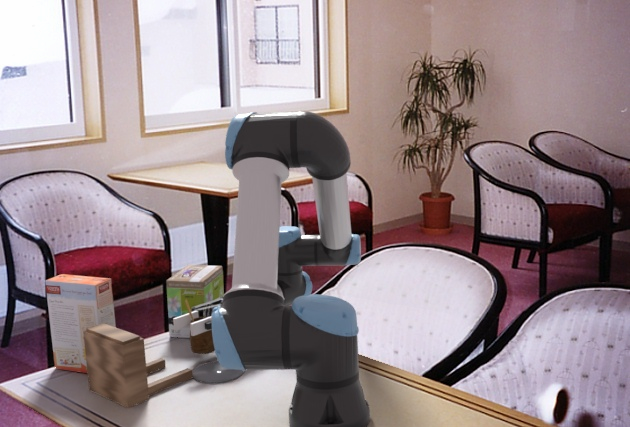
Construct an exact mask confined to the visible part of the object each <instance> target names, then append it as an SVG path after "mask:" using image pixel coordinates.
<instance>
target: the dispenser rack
mask: <svg viewBox="0 0 630 427" xmlns="http://www.w3.org/2000/svg"><path fill="white" fill-rule="evenodd" d="M83 334H84V344H85V353H86V363H87V372H88V373H87V380H88V389H89V392H90V391H91V392H92V393H95V394H97V395H99V396H102V397H103V398H106V399H108V400H109V401H112V402H114V403H117V404H118V405H121V406H123V407H126V408H128V409H130V408H132V407H135V406H138V405H139V404H142V403H144V402H147V401H149V400H150V396H152V395H154V394H157V393H159V392H161V391H163V390H166V389H168V388H171V387H173V386H176V385H179V384H181V383H183V382H186V381H188V380H190V379H194V378H193V374H192V372H193V369H192V368H189V367H187V368H185V369H182V370H180V371H178V372H177V371H176V372H174V373H171V374H169V375H167V376H164V377H162V378H159V379H157V380H154V381H152V382H150V383H149V382H148V375H149V374H152V373H155V372H157V371H159V370H162V369H165V368H166V360H165V358H158V359H155V360H152V361H150V362H147V360H146V350H145V348H146V347H145V338H144V337H141V335H138V334H135V333H132V332H130V331H127V330H124V329H122V328H119V327H118V328H117V327H113V326H110V325H107V324H104V323H102V324H98V325H95V326H92V327H89V328H86V331H83Z"/></svg>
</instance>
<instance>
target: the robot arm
mask: <svg viewBox="0 0 630 427" xmlns="http://www.w3.org/2000/svg"><path fill="white" fill-rule="evenodd" d="M225 136H226V137H225V142H224V145H225V150H224V158H225V164H226V165H227V168H228V169H230V170H231V172H232V175H233V177H234V178H235V179H236V180H237V181H238V192H237V193H238V194H237V208H236V219H235V220H236V223H235V239H234V249H233V250H234V252H233V254H234V255H233V266H232V278H231V279H232V280H231V281H232V282H231V288H230V289H229V290H227V291H226V292H224V296H223V297H219V298H217V299H216V300H213V301H210V302H207V303H208V305H207V303H204V304H200V305H197V306H194V307H192V308H191V309H192V312H191V314H192V316H193V319H195V318H199V317H204V315H203V311H204V313H205V315H206V317H207V318H205V319H202V320H199V321H196V322H193V323H191V321H192V318H191V316H190V314H189V313H187V314H184V315H182V316H179V317H176V318H173V322H174V330H176V331H177V330H179V329H182V328H185V327H188V326H190V330H191V336H195V335H198V334H200V333H203V332H206V331H209V330H211V329H212V336H213V343H214V349H215V351H214V353H215V356H216V359H217V361H218V362H219V363H220V365H221V366H222V367H224V368H226V369H235V370H243V371H244V372H246V371H249V370H250V371H252V370H253V371H257V370H259V371H260V370H261V371H262V370H265V371H267V370H268V371H271V370H272V371H273V370H274V371H275V370H277V371H278V370H295V375H296V376H295V379H296V380H295V381H296V383H295V386H294V391H293V395H292V398H291V402H290V405H289V408H288V423H289V424H288V425H290V427H367V426H368V424H369V423H370V419H371V415H370V414H371V413H370V410H371V409H370V404H369V402H368V401H367V399H366V397H365V393H364V390H363V387H362V384H361V381H360V366H359V345H358V342H359V341H358V340H359V339H358V334H359V330H360V329H359V326H358V321H357V320H358V317H357V312H356V309H355V307H354V306H353V305H352V303H350V302H349V301H347V300H345V299H342V298H340V297H337V296H333V295H328V294H316V293H315V294H314V293H313V294H312V291H313V283H312V281H311V278H310V275H309V274H308V273H307V272H306V271H303V267H305V266H306V267H307V266H309V267H310V266H311V267H312V266H313V267H314V266H316V267H317V266H343V267H345V266H351V265H353V266H354V265H358V264H360V263H361V261H362V260H361V259H362V253H361V252H362V250H361V249H362V247H361V246H362V245H361V244H362V243H361V237H360V235H359V234H356V233H355V234H354V233H352V224H351V210H350V200H349V198H350V197H349V187H348V172H349V170H350V168H351V165H352V164H351V163H352V162H351V153H350V149H349V147H348V143H347V141H346V140H345V138H344V136H343V135H342V134H341V132H340V131H339V129H338V128H337V127H336V126H335V125H334V124H333V123H332V122H331V121H329V120H328V119H326V117H323V116H321V115H320V114H318V113H315V112H312V111H307V110H306V111H305V110H300V111H283V112H282V111H280V112H279V111H278V112H260V113H258V112H256V111H252V112H249V113H248V112H247V113H239V114H237V115H235V116H233V117H232V119H231V121H230V122H229V124H228V127H227V131H226V135H225ZM300 168H305V169H306V172H307V173H308V174H309V175H310V177H312V178H311V179H312V185H313V192H314V200H315V209H316V216H317V222H318V223H317V224H318V231H319V234H306V235H305V234H302V232H301V229H300V227H297V226H290V225H286V226H285V225H283V226H280V224H281V221H280V220H281V201H282V200H281V198H282V184H283V183H284V182H286V181H287V180H288V178H289V177H290V169H300ZM209 303H212V304H213V305H212V304H209ZM206 305H207V306H206ZM211 305H212V306H211ZM204 306H205V307H206V308H205V307H204ZM209 308H210V310H209V311H208V309H209ZM205 310H206V312H205ZM208 316H209V317H208Z"/></svg>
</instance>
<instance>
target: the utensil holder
mask: <svg viewBox="0 0 630 427" xmlns="http://www.w3.org/2000/svg"><path fill="white" fill-rule="evenodd" d="M185 303H186V306H187V309H188V312H189V314H190V316H191V318H192V321H191V323H193V322H196V321H199V320H202V319H205V318H207V317H206V315H205V313H204V311H203V315H204V317H199V318H195V319H193V316H192V314H191V309H190V306H189V304H188V301H187V299H186V300H185ZM209 304H212V303H209ZM207 305H208V303H207ZM207 305H206V306H207ZM212 305H213V304H212ZM212 305H211V306H212ZM204 307H205V306H204ZM205 308H206V307H205ZM209 310H210V308H209V309H208V311H209ZM205 312H206V310H205ZM208 317H209V316H208ZM189 342H190V349H191V352H192V353H193V354H197V355H206V354H211V353H215V349H214V343H213V336H212V329H211V330H209V331H206V332H203V333H200V334H198V335H195V336H191V330H190V338H189Z"/></svg>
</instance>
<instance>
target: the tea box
mask: <svg viewBox="0 0 630 427" xmlns="http://www.w3.org/2000/svg"><path fill="white" fill-rule="evenodd" d="M165 283H166V295H167V296H166V298H167V300H166V301H167V312H168V313H167V314H168V316H167V317H168V333H169V335H168V336H169V338H177V337H178V338H177V339H179V338H181V339H190V326H188V327H185V328H182V329H179V330H177V331H176V330H174V322H173V318H176V317H179V316H182V315H184V314H187V313H189V312H188V309H187V306H186V303H185V300H186V299H187V301H188V304H189V306H190V309H191V308H192V307H194V306H197V305H200V304H204V303H207V302H210V301H213V300H216V299H217V298H219V297H223V296H224V294H225V292H224V289H225V288H224V270H223V266H222V265H206V264H205V265H203V264H202V265H201V264H200V265H198V264H187V265H186V266H184V267H183V268H181V269H180V270H178V271H177V272H176V273H175V274H173V275H171V277H169V278H168V279H166V282H165ZM191 312H192V309H191Z"/></svg>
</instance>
